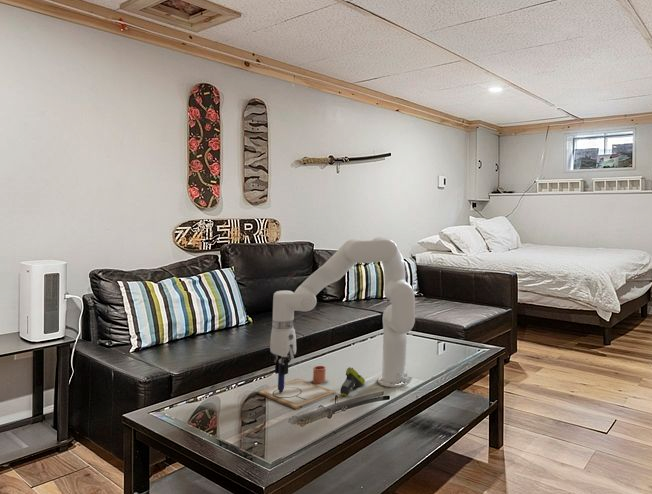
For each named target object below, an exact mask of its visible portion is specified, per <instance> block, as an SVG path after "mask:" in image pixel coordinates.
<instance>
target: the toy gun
mask: <svg viewBox="0 0 652 494" xmlns="http://www.w3.org/2000/svg"><path fill="white" fill-rule="evenodd" d="M345 376H346V378H345V380H344V382H343V383H342V385H341V386H340V389H339V390H340V391H339V393H340V394H341V396H344V397H346V398H348V397H349V394H350V391H351V390H357V388H358V387H362V386H364V384H365V382H366V379H365V378H364V377H363V376H362V375H360V374H359V373H358V372H357V370H356V369H354V368H353V367H351V366H350V367H349V366H348V367H347V368H346V371H345Z"/></svg>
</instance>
